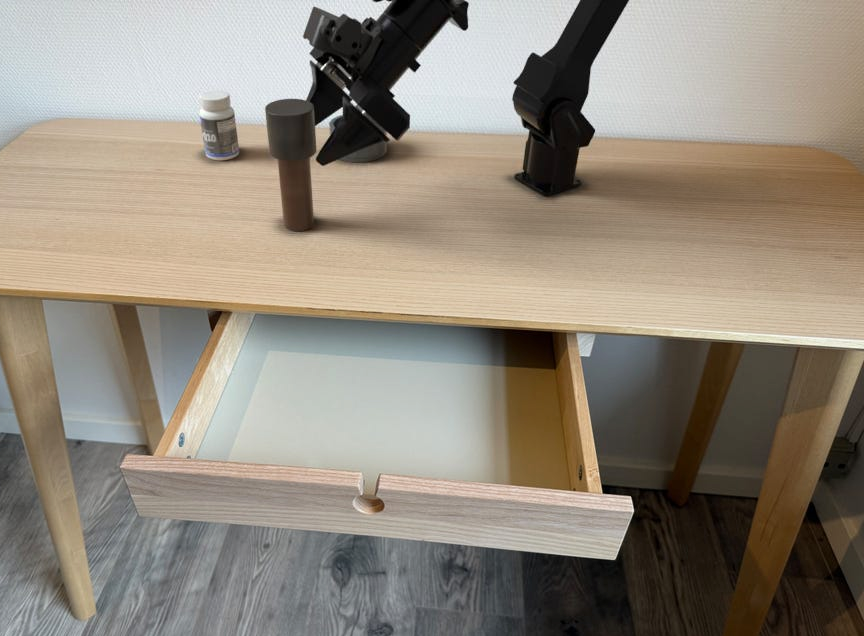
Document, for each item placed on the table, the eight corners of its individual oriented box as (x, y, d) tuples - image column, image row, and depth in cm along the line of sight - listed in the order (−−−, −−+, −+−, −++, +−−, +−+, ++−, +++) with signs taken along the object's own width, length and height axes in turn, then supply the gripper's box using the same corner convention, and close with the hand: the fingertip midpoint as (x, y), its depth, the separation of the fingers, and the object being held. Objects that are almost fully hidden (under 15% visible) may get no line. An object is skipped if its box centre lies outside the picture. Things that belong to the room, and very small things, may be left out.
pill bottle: (199, 153, 101) (189, 93, 96) (228, 145, 103) (220, 86, 98) (216, 164, 98) (207, 103, 93) (246, 155, 101) (238, 95, 95)
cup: (397, 154, 101) (397, 126, 98) (348, 167, 98) (347, 138, 95) (368, 135, 106) (367, 109, 104) (320, 147, 103) (319, 119, 100)
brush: (328, 227, 84) (322, 109, 76) (289, 239, 82) (277, 119, 73) (308, 210, 88) (300, 95, 79) (270, 220, 86) (257, 104, 77)
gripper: (323, -41, 77) (234, 74, 81) (381, -3, 64) (271, 133, 68) (390, 30, 84) (305, 133, 88) (455, 79, 71) (352, 197, 75)
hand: (307, 146), depth 80 cm, fingers open, 9 cm apart
